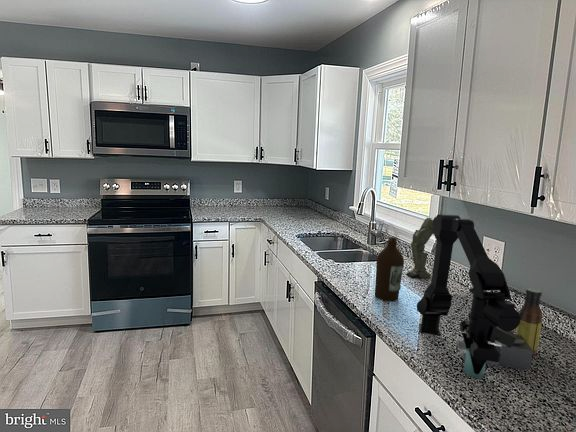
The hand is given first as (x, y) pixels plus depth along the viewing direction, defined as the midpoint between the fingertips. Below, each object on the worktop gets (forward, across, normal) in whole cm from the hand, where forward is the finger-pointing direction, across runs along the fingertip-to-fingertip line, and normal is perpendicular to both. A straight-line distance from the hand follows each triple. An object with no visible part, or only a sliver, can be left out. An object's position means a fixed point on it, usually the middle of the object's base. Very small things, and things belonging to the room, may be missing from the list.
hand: (474, 368), depth 108 cm
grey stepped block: (+1, +12, -7) cm, 14 cm away
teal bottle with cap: (+1, 0, 0) cm, 1 cm away
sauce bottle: (+2, +19, -18) cm, 27 cm away
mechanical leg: (+2, +88, +7) cm, 88 cm away
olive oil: (+2, +51, +23) cm, 56 cm away
